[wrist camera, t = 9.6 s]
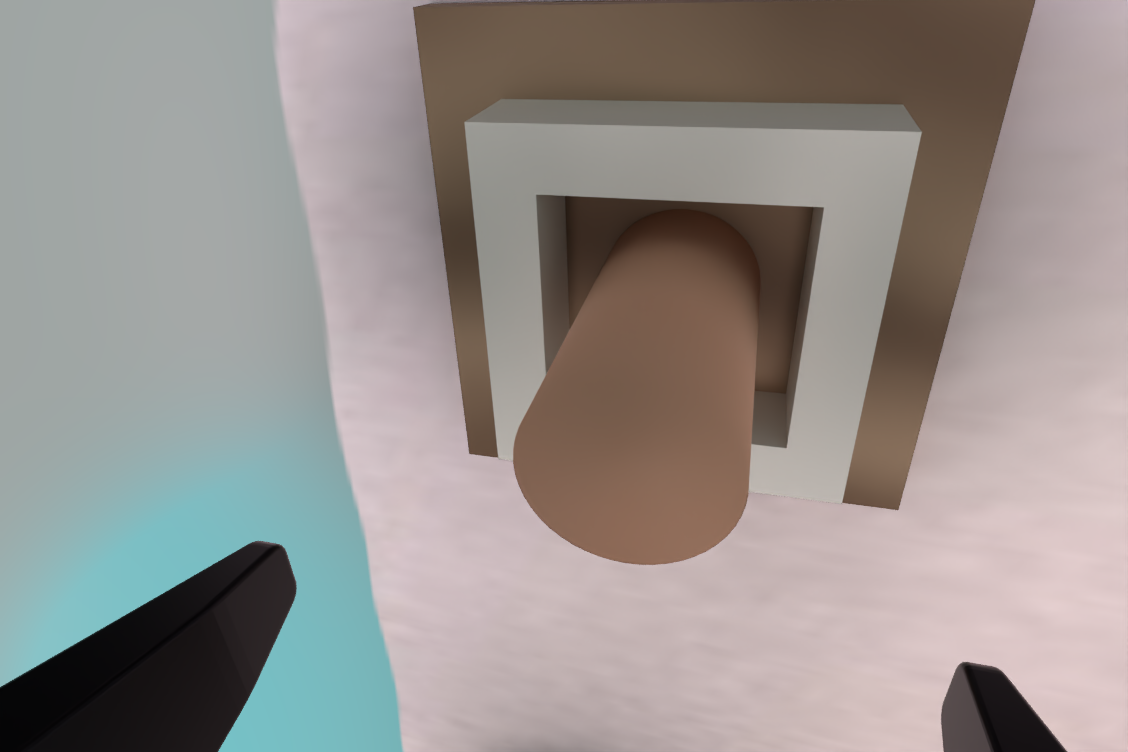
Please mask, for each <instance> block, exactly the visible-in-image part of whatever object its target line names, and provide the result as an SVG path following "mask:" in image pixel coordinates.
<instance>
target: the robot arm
mask: <svg viewBox="0 0 1128 752" xmlns="http://www.w3.org/2000/svg"><path fill="white" fill-rule="evenodd" d="M295 595H296V580H295V577H294V574H293V571H292V568H291V565H290V562H289V559H288V555H287V552H286V550H285V548H284V547H283V546H282V545H280V544H275V543H269V542H263V541H255V542H252V543H250V544H248V545H246V546H245V547H243V548H241V549H239V550H238V551H236V552H234V553H232V554H231V555H229V556H227V557H225V558H224V559H222V560H220V561H218V562H217V563H215V564H213V565H212V566H210V567H208V568H206V569H205V570H203V571H201V572H199V573H198V574H196V575H194V576H192V577H191V578H189V579H187V580H186V581H184V582H182V583H180V584H179V585H177V586H175V587H174V588H172V589H170V590H169V591H166V592H165V593H163V594H161V595H160V596H158V597H156V598H154V599H153V600H151V601H149V602H147V603H146V604H144V605H142V606H140V607H139V608H137V609H135V610H133V611H132V612H130V613H128V614H126V615H125V616H123V617H121V618H120V619H118V620H116V621H114V622H113V623H111V624H109V625H107V626H106V627H104V628H103V629H101V630H99V631H97V632H95V633H94V634H92V635H90V636H88V637H87V638H85V639H83V640H81V641H80V642H78V643H76V644H74V645H73V646H71V647H69V648H68V649H66V650H64V651H62V652H61V653H59V654H57V655H55V656H54V657H52V658H50V659H48V660H47V661H45V662H43V663H42V664H40V665H38V666H36V667H34V668H33V669H31V670H29V671H28V672H26V673H24V674H22V675H21V676H19V677H17V678H15V679H14V680H12V681H10V682H8V683H7V684H5V685H3V686H1V687H0V752H218V751H219V749H220V747H221V745H222V744H223V742H224V740H225V739H226V737H227V735H228V733H229V732H230V730H231V728H232V727H233V725H234V723H235V721H236V720H237V718H238V716H239V715H240V713H241V711H242V709H243V707H244V705H245V703H246V702H247V700H248V698H249V696H250V694H251V692H252V690H253V688H254V686H255V684H256V682H257V680H258V678H259V676H260V673H261V671H262V669H263V667H264V665H265V663H266V661H267V658H268V656H269V654H270V652H271V650H272V647H273V645H274V643H275V641H276V639H277V636H278V634H279V632H280V630H281V628H282V625H283V623H284V621H285V619H286V617H287V615H288V613H289V610H290V608H291V606H292V604H293V601H294V598H295ZM941 725H942V737H943V748H944V752H1067V751H1066V750H1065V748H1064V747H1063V746H1062V745H1061V743H1060V742H1059V741H1058V740H1057V738H1056V737H1055V736H1054V735H1053V733H1052V732H1051V731H1050V730H1049V728H1048V727H1047V726H1046V725H1045V723H1044V722H1043V721H1042V720H1041V718H1040V717H1039V716H1038V715H1037V714H1036V712H1035V711H1034V710H1033V709H1032V707H1031V706H1030V705H1029V704H1028V702H1027V701H1026V700H1025V699H1024V697H1023V696H1022V695H1021V694H1020V692H1019V691H1018V690H1017V689H1016V687H1015V686H1014V685H1013V684H1012V682H1011V681H1010V680H1009V679H1008V677H1007V676H1006V675H1005V674H1004V673H1003V672H1002V671H1001V670H999V669H998V668H996V667H992V666H987V665H981V664H975V663H970V662H962V663H960V664H959V665H958V667H957V668H956V671H955V673H954V676H953V678H952V681H951V684H950V686H949V689H948V692H947V694H946V697H945V699H944V702H943V706H942V714H941Z"/></svg>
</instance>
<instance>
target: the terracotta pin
mask: <svg viewBox="0 0 1128 752" xmlns="http://www.w3.org/2000/svg"><path fill="white" fill-rule="evenodd" d="M760 285H761V278H760V270H759V266H758V262H757V259H756V257H755V255H754V252H753V250H752V249H751V247H750V245H749V244H748V242H747V241H746V240H745V239H744V237H743V236H742V235H741V234H740V233H739V232H738V231H737V230H736V229H735V228H734V227H732V226H731V225H729V224H728V223H727V222H725V221H723V220H721V219H720V218H718V217H716V216H713V215H711V214H708V213H705V212H701V211H697V210H689V209H672V210H665V211H661V212H657V213H654V214H651V215H649V216H646V217H644V218H642V219H641V220H639V221H637V222H636V223H634V224H633V225H632V226H630V227H629V228H628V229H627V230H626V231H625V232H624V233H623V234H622V235H621V236H620V237H619V239H618V240H617V242H616V243H615V244H614V246H613V248H612V250H611V252H610V254H609V256H608V258H607V260H606V262H605V263H604V265H603V267H602V269H601V271H600V273H599V275H598V277H597V279H596V281H595V283H594V284H593V286H592V288H591V290H590V292H589V294H588V296H587V298H586V300H585V302H584V304H583V305H582V307H581V309H580V311H579V313H578V315H577V317H576V319H575V321H574V323H573V324H572V326H571V328H570V330H569V332H568V334H567V336H566V338H565V340H564V342H563V344H562V345H561V347H560V349H559V351H558V353H557V355H556V357H555V359H554V361H553V363H552V365H551V366H550V368H549V370H548V372H547V374H546V376H545V378H544V380H543V382H542V384H541V386H540V387H539V389H538V391H537V393H536V395H535V397H534V399H533V401H532V403H531V405H530V407H529V408H528V410H527V412H526V414H525V416H524V418H523V420H522V422H521V424H520V426H519V428H518V431H517V434H516V437H515V441H514V448H513V464H514V470H515V475H516V478H517V481H518V484H519V487H520V489H521V491H522V493H523V495H524V497H525V499H526V500H527V502H528V504H529V505H530V507H531V508H532V509H533V511H534V512H535V513H536V514H537V515H538V517H539V518H540V519H541V520H542V521H543V522H544V523H545V524H546V525H547V526H548V527H549V528H550V529H552V530H553V531H554V532H555V533H557V534H558V535H559V536H561V537H562V538H564V539H565V540H567V541H568V542H570V543H571V544H573V545H575V546H577V547H579V548H581V549H583V550H585V551H587V552H590V553H592V554H595V555H597V556H600V557H603V558H607V559H610V560H614V561H619V562H624V563H631V564H642V565H656V564H667V563H673V562H678V561H682V560H685V559H689V558H692V557H695V556H697V555H699V554H701V553H704V552H706V551H707V550H709V549H711V548H712V547H714V546H715V545H717V544H718V543H719V542H721V541H722V540H723V539H724V538H725V537H727V535H728V534H729V533H730V532H731V531H732V530H733V529H734V527H735V526H736V524H737V523H738V521H739V519H740V518H741V516H742V514H743V511H744V509H745V506H746V502H747V498H748V492H749V475H750V458H751V441H752V424H753V407H754V389H755V372H756V355H757V338H758V321H759V304H760Z"/></svg>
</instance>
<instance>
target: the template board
mask: <svg viewBox="0 0 1128 752" xmlns="http://www.w3.org/2000/svg"><path fill="white" fill-rule="evenodd" d="M1034 3H1035V0H610V1H554V2H497V3H441V4H427V5H422V6H418V7H413V10H414V18H415V26H416V34H417V42H418V50H419V58H420V66H421V74H422V82H423V90H424V97H425V105H426V113H427V121H428V129H429V137H430V145H431V153H432V161H433V169H434V177H435V185H436V193H437V200H438V208H439V216H440V224H441V232H442V240H443V248H444V256H445V264H446V272H447V280H448V288H449V296H450V304H451V311H452V319H453V327H454V335H455V343H456V351H457V359H458V367H459V375H460V383H461V391H462V399H463V407H464V415H465V422H466V430H467V438H468V446H469V454H475V455H482V456H490V457H498V459H502V460H510V461H513V448H514V441H515V437H516V434H517V431H518V428H519V426H520V424H521V422H522V420H523V418H524V416H525V414H526V412H527V410H528V408H529V407H530V405H531V403H532V401H533V399H534V397H535V395H536V393H537V391H538V389H539V387H540V386H541V384H542V382H543V380H544V378H545V376H546V374H547V372H548V370H549V368H550V366H551V365H552V363H553V361H554V359H555V357H556V355H557V353H558V351H559V349H560V347H561V345H562V344H563V342H564V340H565V338H566V336H567V334H568V332H569V330H570V328H571V326H572V324H573V323H574V321H575V319H576V317H577V315H578V313H579V311H580V309H581V307H582V305H583V304H584V302H585V300H586V298H587V296H588V294H589V292H590V290H591V288H592V286H593V284H594V283H595V281H596V279H597V277H598V275H599V273H600V271H601V269H602V267H603V265H604V263H605V262H606V260H607V258H608V256H609V254H610V252H611V250H612V248H613V246H614V244H615V243H616V242H617V240H618V239H619V237H620V236H621V235H622V234H623V233H624V232H625V231H626V230H627V229H628V228H629V227H630V226H632V225H633V224H634V223H636V222H637V221H639V220H641V219H642V218H644V217H646V216H649V215H651V214H654V213H657V212H661V211H665V210H672V209H689V210H697V211H701V212H705V213H708V214H711V215H713V216H716V217H718V218H720V219H721V220H723V221H725V222H727V223H728V224H729V225H731V226H732V227H734V228H735V229H736V230H737V231H738V232H739V233H740V234H741V235H742V236H743V237H744V239H745V240H746V241H747V242H748V244H749V245H750V247H751V249H752V250H753V252H754V255H755V257H756V259H757V262H758V266H759V270H760V278H761V285H760V304H759V321H758V338H757V355H756V372H755V389H754V407H753V424H752V441H751V458H750V475H749V492H753V493H761V494H768V495H776V496H784V497H791V498H799V499H806V500H814V501H822V502H829V503H837V504H842V503H848V504H856V505H864V506H871V507H879V508H887V509H894V510H898V509H899V505H900V502H901V498H902V494H903V490H904V487H905V483H906V479H907V476H908V472H909V468H910V464H911V461H912V457H913V453H914V450H915V446H916V442H917V438H918V435H919V431H920V427H921V424H922V420H923V416H924V412H925V409H926V405H927V401H928V397H929V394H930V390H931V386H932V383H933V379H934V375H935V371H936V368H937V364H938V360H939V357H940V353H941V349H942V345H943V342H944V338H945V334H946V331H947V327H948V323H949V319H950V316H951V312H952V308H953V305H954V301H955V297H956V293H957V290H958V286H959V282H960V279H961V275H962V271H963V267H964V264H965V260H966V256H967V253H968V249H969V245H970V241H971V238H972V234H973V230H974V226H975V223H976V219H977V215H978V212H979V208H980V204H981V200H982V197H983V193H984V189H985V186H986V182H987V178H988V174H989V171H990V167H991V163H992V160H993V156H994V152H995V148H996V145H997V141H998V137H999V134H1000V130H1001V126H1002V122H1003V119H1004V115H1005V111H1006V108H1007V104H1008V100H1009V96H1010V93H1011V89H1012V85H1013V81H1014V78H1015V74H1016V70H1017V67H1018V63H1019V59H1020V55H1021V52H1022V48H1023V44H1024V41H1025V37H1026V33H1027V29H1028V26H1029V22H1030V18H1031V15H1032V11H1033V7H1034Z"/></svg>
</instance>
